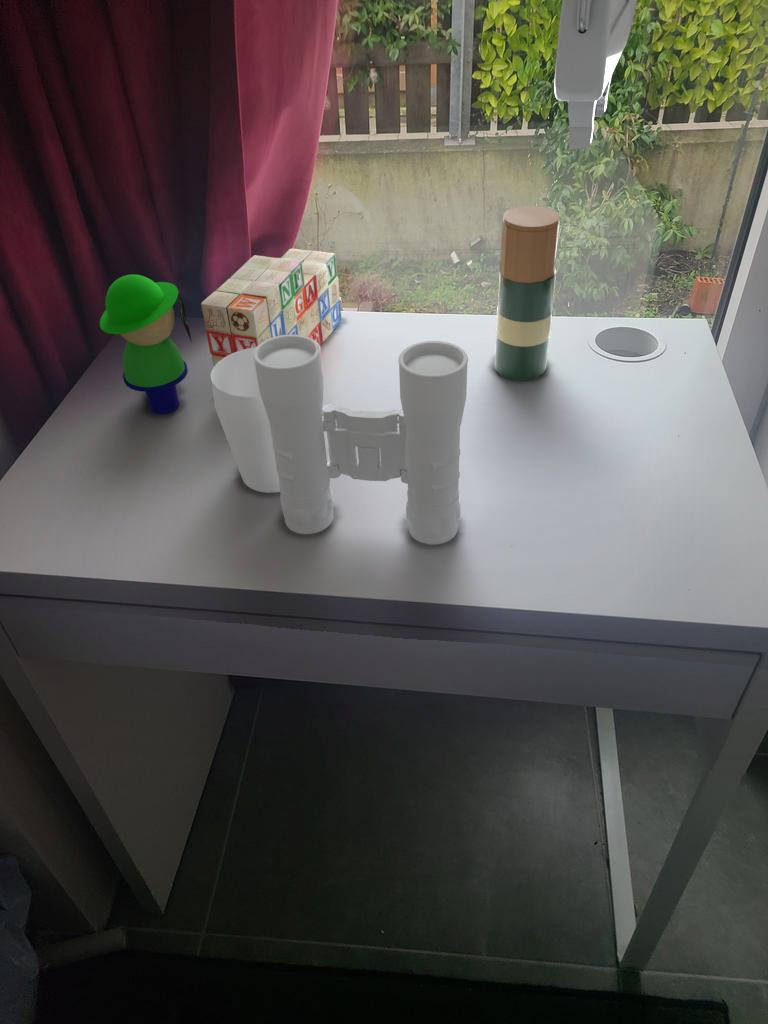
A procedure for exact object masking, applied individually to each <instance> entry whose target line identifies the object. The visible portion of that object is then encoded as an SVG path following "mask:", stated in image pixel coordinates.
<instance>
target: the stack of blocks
mask: <svg viewBox="0 0 768 1024" xmlns="http://www.w3.org/2000/svg"><path fill="white" fill-rule="evenodd" d="M340 298H341V294H340V283H339V277H338V270H337V259H336V253H334V252H329V251H328V252H326V251H320V250H309V249H308V250H307V249H299V248H289V249H288V250H287V251H286V252H285V253H284V254H283V255H282V256H281V257H272V256H264V255H258V254H257V255H256V254H254V255H252V256H251V257H250V258H249V259H248V260H247V261H246V262H245V263H244V264H243V265H242V266H241V267H240V268H239V269H238V270H237V271H236V272H235V273H233V274H232V275H231V276H230V277H229V278H228V279H227V280H225V282H224V283H223V284H221V285H220V286H219V287H218V288H217V289H216V290H214V291H213V292H212V293H211V294H210V295H209V296H207V297H206V298H204V300H203V301H202V302H201V303H200V306H201V311H202V316H203V320H204V325H205V329H206V330H205V334H206V338H207V344H208V348H209V353H210V355H211V359H212V364H213V367H214V366H215V365H216V364H217V363H218V362H219V361H220V360H222V359H223V358H224V357H226V356H228V355H230V354H232V353H235V352H237V351H240V350H244V349H248V348H254V347H257V346H258V345H259V344H260V343H262V342H264V341H265V340H267V339H270V338H273V337H276V336H281V335H302V336H306V337H309V338H311V339H313V340H315V341H316V342H317V343H318V344H319V345H320V346H321V345H322V343H324V342H326V340H327V339H328V338H329V336H330V335H331V334H332V333H333V331H334V330H335V329H336V328H337V326H338V325H339V324H340V323H341V322H342V308H341V299H340Z"/></svg>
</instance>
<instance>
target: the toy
mask: <svg viewBox="0 0 768 1024" xmlns="http://www.w3.org/2000/svg"><path fill="white" fill-rule="evenodd" d="M176 301H177V306H178V311H179V316H180V320H181V322H182V324H183V326H184V329H185V331H186V333H187V335H188V337H189V340H190V343H193V341H192V336H191V332H190V327H189V323H188V318H187V313H186V309H185V304H184V302H183V301H182V298H181V296H180V293H179V289H178V288H177V286H176V285H175V283H174V282H173V283H170V282H166V281H158V282H154V280H152V279H150V278H148V277H146V276H144V275H140V274H126V275H123V276H121V277H118V278H117V279H116V280H114V281H113V283H111V285H110V286H109V288H108V290H107V292H106V296H105V310H104V311H103V313H102V315H101V316H100V320H99V327H100V329H101V331H103V332H104V333H106V334H110V335H120V336H121V337H122V338H123V339H124V340H126V341H127V342H126V345H125V347H124V350H123V356H122V368H123V373H122V380H123V382H124V384H125V386H126V387H128V388H129V389H130V390H132V391H137V392H143V393H145V394H146V399H147V402H148V406H149V410H150V412H151V413H153V414H155V415H161V416H163V415H168V414H171V413H174V412H175V411H176V410H178V409H179V407H180V401H179V395H178V391H177V385H178V384H179V383H181V382H182V381H184V379H186V377H187V375H188V373H189V372H188V371H189V369H188V365H187V363H186V361H185V360H184V359H183V356H182V354H181V352H180V350H179V349H178V347H177V346H176V344H175V343H174V341H173V340H172V339H171V338H170V337H169V336H170V334H172V332H173V330H174V327H175V323H176V312H175V309H174V305H175V303H176Z"/></svg>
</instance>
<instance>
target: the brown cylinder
mask: <svg viewBox="0 0 768 1024" xmlns="http://www.w3.org/2000/svg"><path fill="white" fill-rule="evenodd" d="M502 218H503V219H502V222H501V239H500V240H501V241H500V255H499V274H500V273H501V274H502V275H503V277H504V278H507V279H509V280H512V281H514V282H522V283H535V282H542V281H545V280H547V279H549V278H551V277H552V276H553V274H554V271H555V270H556V262H557V253H558V241H559V233H560V223H561V220H560V218H561V217H560V214H559V213H558V212H557V211H556V210H554V209H552V208H549V207H546V206H541V205H521V206H516V207H512V208H510V209H508V210H506V211H505V212H504V213H503V216H502Z"/></svg>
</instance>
